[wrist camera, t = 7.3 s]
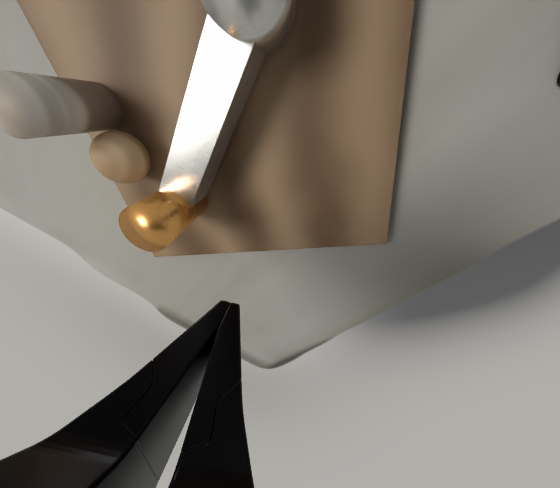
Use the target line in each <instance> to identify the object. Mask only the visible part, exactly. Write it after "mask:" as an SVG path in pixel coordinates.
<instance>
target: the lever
mask: <svg viewBox="0 0 560 488" xmlns="http://www.w3.org/2000/svg"><path fill="white" fill-rule="evenodd" d="M201 2H202V5H203V6H204V8H205V10H206V12H207V13H208V14H207V18H206V21H205V25H204V29H203V32H202V36H201V39H200V43H199V47H198V50H197V54H196V58H195V61H194V65H193V68H192V72H191V76H190V79H189V83H188V86H187V90H186V94H185V97H184V101H183V105H182V108H181V112H180V115H179V119H178V123H177V126H176V130H175V134H174V137H173V141H172V144H171V148H170V152H169V155H168V159H167V163H166V166H165V170H164V173H163V177H162V181H161V184H160V188H159V191H157V192H155V193H153V194H152V195H150V196H148V197H146V198H144V199H142V200H140V201H138V202H136V203H135V204H133V205H131V206H129V207H127V208H125V209H124V210H122V212H121V213H120V215H119V225H120V228H121V230H122V232H123V234H124V235H125V237H126V238H127V239H128V240H129V241H130V242H131V243H132V244H134V245H135V246H137V247H138V248H140V249H143V250H145V251H149V252H158V251H161V250H163V249H165V248H166V247H167V246H168V245H169V244H170V243H171V242H172V241H173V240H174V239H175V238H177V237H178V236H179V235H180V234H181V233H182V232H183V231H184V230H185V229H186V228H187V227H188V226H189V225H190V224H191V223H192V222H194V221H195V220H196V219H197V218H198V217H199V216H200V215H201V214H202V213H203V212H204V211H205V210H206V209H207V207H208V196H207V194H208V192H209V190H210V187H211V185H212V182H213V180H214V178H215V175H216V173H217V170H218V168H219V166H220V163H221V161H222V159H223V156H224V154H225V151H226V149H227V147H228V144H229V142H230V140H231V137H232V135H233V132H234V130H235V128H236V125H237V123H238V121H239V118H240V116H241V113H242V111H243V109H244V106H245V104H246V102H247V99H248V97H249V94H250V92H251V90H252V87H253V85H254V82H255V80H256V78H257V75H258V73H259V71H260V68H261V66H262V63H263V61H264V59H265V56H266V55H269V54H272V53H274V52H276V51H277V50H279V49H280V48H281V47H282V46H283V45H284V44H285V43H286V41H287V40H288V38H289V36H290V35H291V33H292V30H293V27H294V24H295V21H296V15H297V0H201Z"/></svg>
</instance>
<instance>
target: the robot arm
mask: <svg viewBox="0 0 560 488" xmlns="http://www.w3.org/2000/svg"><path fill="white" fill-rule="evenodd" d="M557 83H558V85H559V86H560V74H559V76H558V79H557ZM197 396H198V397H197ZM196 398H197V400H196ZM195 400H196V403H195ZM194 403H195V406H194V410H193V413H192V416H191V420H190V423H189V426H188V430H187V433H186V436H185V440H184V443H183V447H182V449H181V453H180V457H179V459H178V463H177V466H176V469H175V471H174V474H173V477H172V480H171V482H170V485H169V487H168V488H254V484H253V478H252V471H251V465H250V458H249V452H248V445H247V438H246V431H245V423H244V415H243V404H242V382H241V343H240V306H239V304H236V303H230V302H227V301H220V302H219V303H218V304H216V305H215V306H214V307H213V308H212V309H211V310H209V311H208V312H207V313H206V314H205V315H204V316H203V317H201V318H200V319H199V320H198V321H197V322H196V323H194V324H193V325H192V326H191V327H190V328H189V329H187V330H186V331H185V332H184V333H183V334H182V335H180V336H179V337H178V338H177V339H176V340H175V341H173V342H172V343H171V344H170V345H169V346H168V347H167V348H166V349H164V350H163V351H162V352H161V353H159V354H158V355H157V356H156V357H155V358H154V359H153V361H150V362H149V363H148V364H147V365H145V366H144V367H143V368H142V369H141V370H140V371H138V372H137V373H136V374H135V375H133V376H132V377H131V378H130V379H129V380H127V381H126V382H125V383H123V384H122V385H121V386H119V387H118V388H117V389H115V390H114V391H113V392H111V393H110V394H109V395H107V396H106V397H105V398H103V399H102V400H100V401H99V402H98V403H96V404H95V405H94V406H92V407H91V408H89V409H88V410H87V411H85V412H84V413H83V414H81V415H80V416H78V417H77V418H76V419H74V420H73V421H72V422H70V423H69V424H67V425H66V426H65V427H63V428H62V429H60V430H59V431H57V432H56V433H54V434H53V435H51V436H49V437H48V438H46V439H44V440H42V441H40V442H39V443H37V444H35V445H33V446H31V447H29V448H26V449H24V450H22V451H20V452H17V453H15V454H13V455H11V456H9V457H7V458H4V459H2V460H0V488H155V487H156V486H157V483H158V480H159V479H160V477H161V475H162V472H163V470H164V468H165V466H166V464H167V462H168V459H169V457H170V455H171V453H172V451H173V448H174V446H175V444H176V442H177V440H178V438H179V435H180V433H181V431H182V428H183V427H184V424H185V422H186V420H187V418H188V416H189V413H190V411H191V409H192V407H193V405H194Z"/></svg>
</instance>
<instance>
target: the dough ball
mask: <svg viewBox="0 0 560 488" xmlns="http://www.w3.org/2000/svg"><path fill="white" fill-rule="evenodd" d="M90 158H91V161H92V163H93V165H94V166H95V168H96V169H97V170H98V171H99V172H100V173H101V174H102V175H103V176H105V177H106V178H108V179H110V180H112V181H115V182H119V183H126V184H127V183H135V182H138V181H140V180H141V179H143V178H144V177H145V176H146V175H147V174H148V172H149V170H150V165H151V160H150V155H149V153H148V151H147V149H146V147H145V146H144V145H143V144H142V143H141V142H140V141H139V140H138V139H137V138H135V137H134V136H132V135H130V134H128V133H125V132H122V131H115V130H111V131H105V132H102V133H100V134H99V135H97V136H96V137H95V138H94V139H93V141H92V142H91V145H90Z"/></svg>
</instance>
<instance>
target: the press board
mask: <svg viewBox="0 0 560 488" xmlns="http://www.w3.org/2000/svg"><path fill="white" fill-rule="evenodd" d="M17 2H18V3H19V5H20V7H21V9H22V11H23V13H24V15H25V16H26V18H27V20H28V22H29V24H30V26H31V28H32V29H33V31H34V33H35V35H36V37H37V39H38V41H39V42H40V44H41V46H42V48H43V50H44V52H45V54H46V55H47V57H48V59H49V61H50V63H51V65H52V66H53V68H54V70H55V72H56V74H57V76H58V77H53V76H45V75H38V74H30V73H22V72H14V71H6V70H0V129H1V130H2V131H4V132H5V133H7V134H9V135H11V136H13V137H15V138H19V139H29V138H39V137H49V136H59V135H68V134H78V133H89V135H90V137H91V139H92V141H93V139H94V138H95V137H96V136H97V135H99V134H100V133H102V132H105V131H111V130H115V131H122V132H125V133H128V134H130V135H132V136H134V137H135V138H137V139H138V140H139V141H140V142H141V143H142V144H143V145H144V146H145V147H146V149H147V151H148V153H149V155H150V160H151V165H150V170H149V172H148V174H147V175H146V176H145V177H144V178H143V179H141V180H140V181H138V182H135V183H127V184H126V183H119V182H115V181H114V182H115V183H116V185H117V187H118V189H119V191H120V193H121V194H122V196H123V198H124V200H125V202H126V204H127V206H128V207H129V206H131V205H133V204H135V203H136V202H138V201H140V200H142V199H144V198H146V197H148V196H150V195H152V194H153V193H155V192H157V191H159V188H160V184H161V181H162V177H163V173H164V170H165V166H166V163H167V159H168V155H169V152H170V148H171V144H172V141H173V137H174V134H175V130H176V126H177V123H178V119H179V115H180V112H181V108H182V105H183V101H184V97H185V94H186V90H187V86H188V83H189V79H190V76H191V72H192V68H193V65H194V61H195V58H196V54H197V50H198V47H199V43H200V39H201V36H202V32H203V29H204V25H205V21H206V18H207V14H208V13H207V12H206V10H205V8H204V6H203V5H202V2H201V0H17ZM414 3H415V0H297V15H296V21H295V24H294V27H293V30H292V33H291V35H290V36H289V38H288V40H287V41H286V43H285V44H284V45H283V46H282V47H281V48H280V49H279V50H277V51H276V52H274V53H272V54H269V55H266V56H265V59H264V61H263V63H262V66H261V68H260V71H259V73H258V75H257V78H256V80H255V82H254V85H253V87H252V90H251V92H250V94H249V97H248V99H247V102H246V104H245V106H244V109H243V111H242V113H241V116H240V118H239V121H238V123H237V125H236V128H235V130H234V132H233V135H232V137H231V140H230V142H229V144H228V147H227V149H226V151H225V154H224V156H223V159H222V161H221V163H220V166H219V168H218V170H217V173H216V175H215V178H214V180H213V182H212V185H211V187H210V190H209V192H208V194H207V196H208V207H207V209H206V210H205V211H204V212H203V213H202V214H201V215H200V216H199V217H198V218H197V219H196V220H195V221H194V222H192V223H191V224H190V225H189V226H188V227H187V228H186V229H185V230H184V231H183V232H182V233H181V234H180V235H179V236H178V237H177V238H175V239H174V240H173V241H172V242H171V243H170V244H169V245H168V246H167V247H166V248H165V249H163V250H161V251H158V252H153V254H154V256H155V257H163V256H180V255H197V254H214V253H231V252H249V251H266V250H283V249H300V248H318V247H335V246H352V245H369V244H386V243H387V236H388V227H389V219H390V210H391V201H392V193H393V184H394V176H395V167H396V158H397V150H398V141H399V133H400V124H401V115H402V107H403V98H404V89H405V81H406V72H407V64H408V55H409V46H410V38H411V29H412V20H413V12H414Z"/></svg>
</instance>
